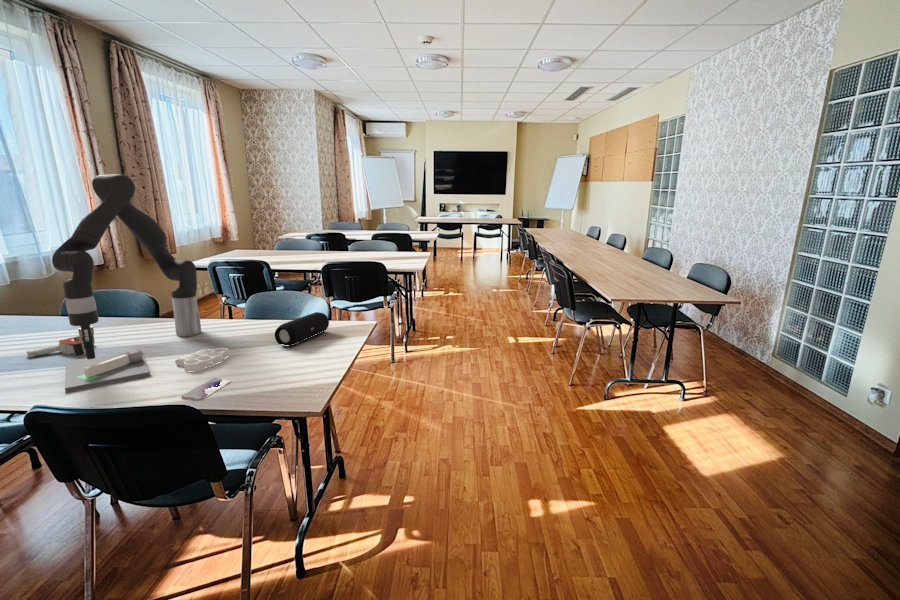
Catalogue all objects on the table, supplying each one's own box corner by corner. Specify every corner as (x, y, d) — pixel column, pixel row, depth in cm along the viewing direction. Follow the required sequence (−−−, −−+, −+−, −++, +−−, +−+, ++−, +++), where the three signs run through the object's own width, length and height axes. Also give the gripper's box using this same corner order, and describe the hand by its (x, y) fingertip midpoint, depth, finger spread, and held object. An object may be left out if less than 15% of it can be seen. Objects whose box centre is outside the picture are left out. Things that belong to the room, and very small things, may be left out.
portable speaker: (292, 350, 178) (291, 326, 176) (273, 346, 182) (272, 323, 179) (331, 333, 201) (330, 312, 199) (313, 330, 205) (312, 309, 202)
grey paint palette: (207, 353, 173) (238, 357, 169) (167, 369, 156) (200, 375, 153) (207, 345, 172) (237, 349, 169) (166, 360, 156) (199, 366, 152)
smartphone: (232, 380, 147) (200, 399, 133) (232, 382, 147) (200, 402, 133) (213, 377, 148) (179, 396, 134) (214, 380, 149) (179, 399, 134)
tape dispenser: (23, 362, 163) (71, 362, 160) (19, 349, 161) (66, 349, 159) (68, 344, 180) (111, 344, 177) (64, 332, 178) (108, 332, 176)
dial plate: (141, 352, 170) (140, 348, 170) (150, 375, 150) (149, 371, 149) (66, 365, 157) (66, 361, 156) (65, 392, 136) (64, 388, 135)
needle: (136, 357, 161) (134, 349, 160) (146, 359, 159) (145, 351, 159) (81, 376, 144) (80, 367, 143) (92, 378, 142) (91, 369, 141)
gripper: (97, 312, 143) (106, 361, 147) (95, 304, 153) (104, 350, 157) (67, 316, 138) (77, 366, 142) (67, 307, 148) (77, 355, 152)
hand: (91, 358), depth 150 cm, fingers closed
